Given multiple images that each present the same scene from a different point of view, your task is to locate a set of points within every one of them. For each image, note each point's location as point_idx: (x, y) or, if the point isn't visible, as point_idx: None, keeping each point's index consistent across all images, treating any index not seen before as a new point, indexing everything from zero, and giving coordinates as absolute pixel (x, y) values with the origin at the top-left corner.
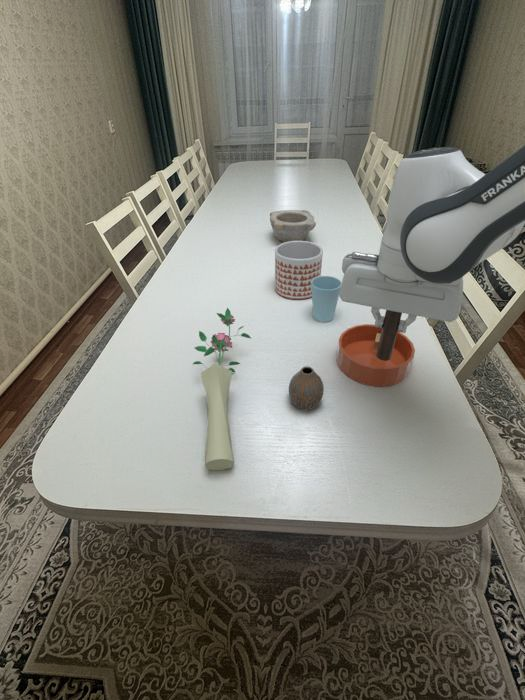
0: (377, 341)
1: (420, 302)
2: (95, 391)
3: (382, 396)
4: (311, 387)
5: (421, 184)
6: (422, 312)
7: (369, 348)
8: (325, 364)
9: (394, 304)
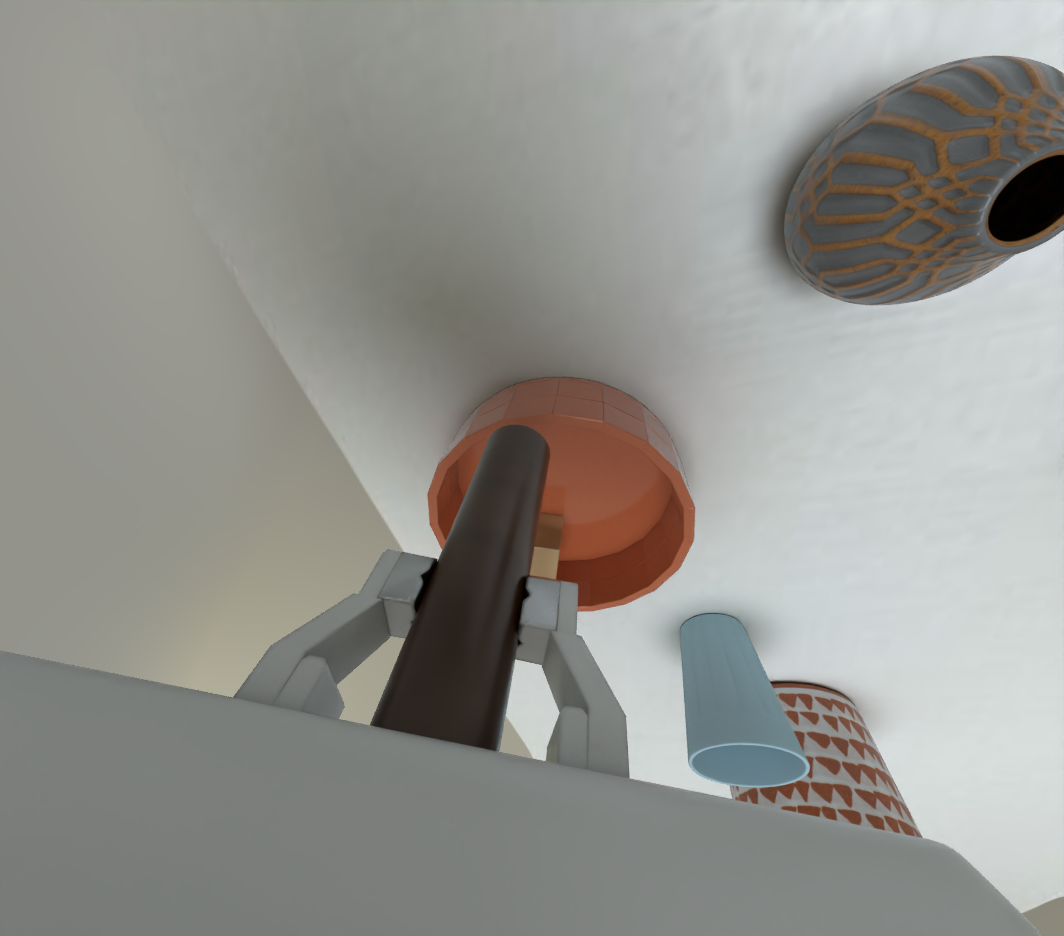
0: (551, 550)
1: (28, 926)
2: None
3: (517, 333)
4: (961, 106)
5: None
6: (116, 744)
7: (573, 531)
8: (723, 447)
9: (387, 852)
